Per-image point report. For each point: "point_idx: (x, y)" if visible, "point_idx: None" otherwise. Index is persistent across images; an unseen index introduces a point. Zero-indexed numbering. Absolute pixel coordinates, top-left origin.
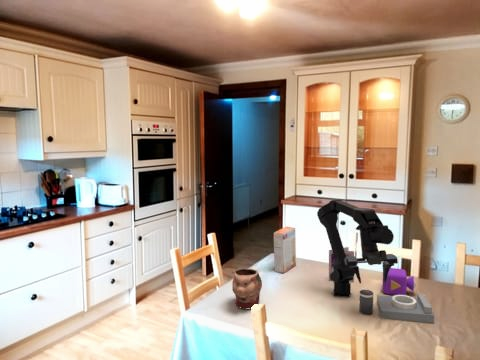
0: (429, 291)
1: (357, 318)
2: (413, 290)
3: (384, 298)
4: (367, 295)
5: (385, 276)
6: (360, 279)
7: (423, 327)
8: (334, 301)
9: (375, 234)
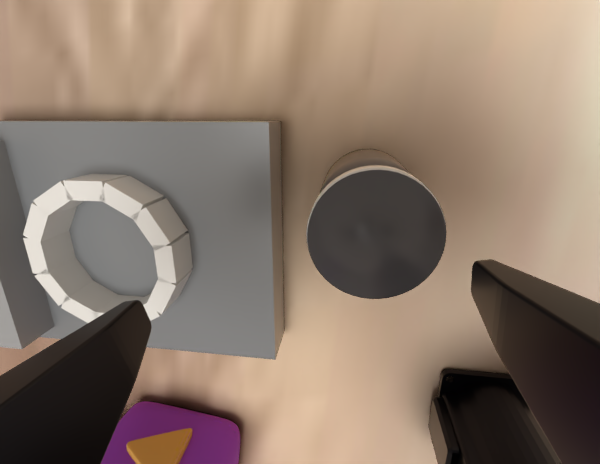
0: None
1: (442, 81)
2: None
3: (233, 315)
4: (374, 170)
5: (69, 348)
6: (513, 287)
7: (49, 51)
8: None
9: None
